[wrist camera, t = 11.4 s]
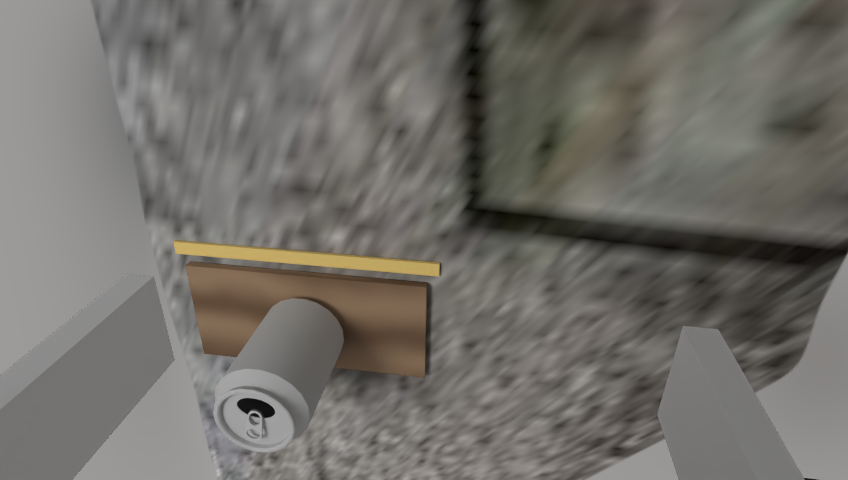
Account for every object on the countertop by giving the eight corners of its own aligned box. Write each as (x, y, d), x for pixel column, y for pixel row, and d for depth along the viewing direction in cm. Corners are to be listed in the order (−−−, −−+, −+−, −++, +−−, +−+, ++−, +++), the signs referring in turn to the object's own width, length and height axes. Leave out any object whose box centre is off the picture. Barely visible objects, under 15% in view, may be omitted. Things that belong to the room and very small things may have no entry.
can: (349, 301, 48) (303, 397, 37) (343, 365, 51) (300, 470, 40) (268, 285, 48) (200, 375, 37) (268, 350, 52) (206, 449, 41)
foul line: (175, 240, 48) (173, 241, 48) (439, 262, 45) (439, 264, 45) (177, 251, 49) (176, 253, 48) (439, 274, 46) (439, 276, 46)
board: (190, 261, 49) (185, 265, 48) (427, 282, 46) (426, 287, 46) (208, 348, 54) (204, 353, 53) (425, 372, 51) (424, 377, 50)
